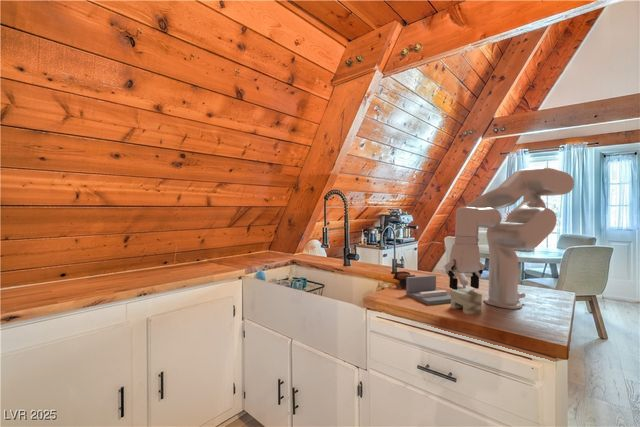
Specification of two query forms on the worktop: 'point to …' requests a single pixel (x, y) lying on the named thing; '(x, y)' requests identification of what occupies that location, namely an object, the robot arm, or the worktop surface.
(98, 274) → the worktop surface
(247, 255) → the worktop surface
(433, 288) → the board
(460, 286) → the wall hook
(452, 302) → the saddle block
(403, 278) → the pottery mug
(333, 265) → the worktop surface
